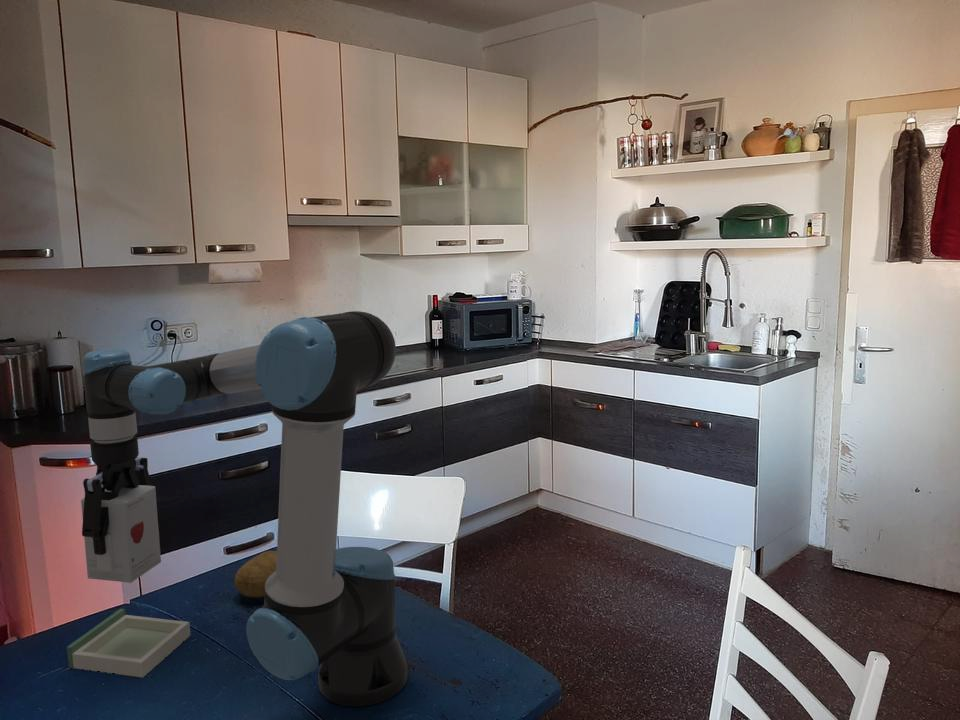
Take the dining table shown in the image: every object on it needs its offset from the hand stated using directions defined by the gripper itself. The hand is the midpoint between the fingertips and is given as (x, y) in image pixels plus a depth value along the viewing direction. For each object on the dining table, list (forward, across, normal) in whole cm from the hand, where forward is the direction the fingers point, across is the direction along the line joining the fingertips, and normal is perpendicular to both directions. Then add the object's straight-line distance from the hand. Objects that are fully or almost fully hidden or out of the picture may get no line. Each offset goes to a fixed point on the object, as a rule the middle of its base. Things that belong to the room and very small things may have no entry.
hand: (124, 557), depth 134 cm
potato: (+19, -26, +12) cm, 34 cm away
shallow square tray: (+18, 0, 0) cm, 18 cm away
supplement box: (+3, 0, 0) cm, 3 cm away
